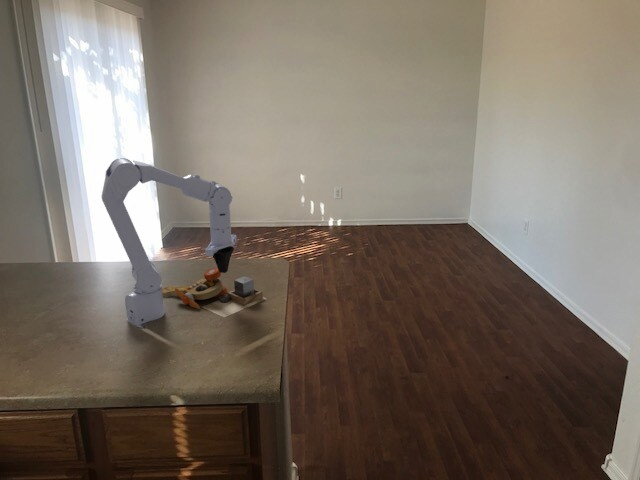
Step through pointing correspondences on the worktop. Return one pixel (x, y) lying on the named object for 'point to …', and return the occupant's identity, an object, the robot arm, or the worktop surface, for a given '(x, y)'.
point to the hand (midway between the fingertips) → (223, 271)
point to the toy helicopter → (198, 289)
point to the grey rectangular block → (244, 287)
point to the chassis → (234, 303)
